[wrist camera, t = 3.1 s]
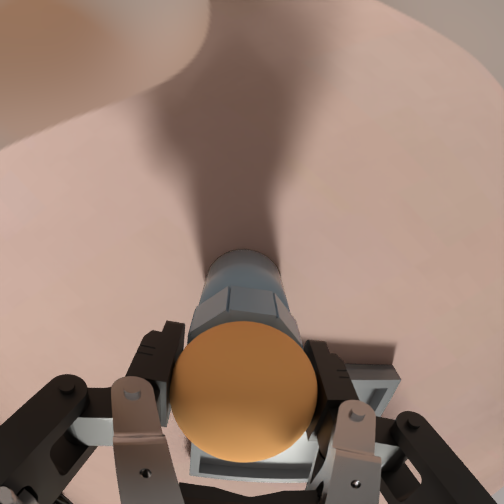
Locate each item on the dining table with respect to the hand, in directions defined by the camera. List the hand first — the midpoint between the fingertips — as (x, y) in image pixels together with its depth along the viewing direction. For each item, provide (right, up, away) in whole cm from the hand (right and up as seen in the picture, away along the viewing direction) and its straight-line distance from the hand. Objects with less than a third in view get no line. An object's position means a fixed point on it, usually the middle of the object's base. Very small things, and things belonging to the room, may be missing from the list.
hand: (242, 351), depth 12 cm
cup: (0, +2, +6) cm, 6 cm away
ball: (0, -1, -2) cm, 2 cm away
